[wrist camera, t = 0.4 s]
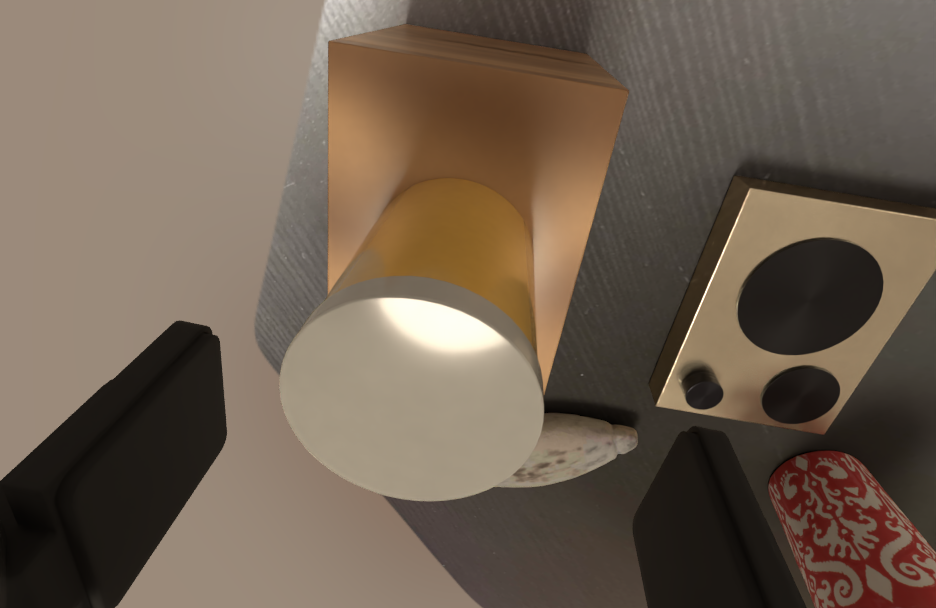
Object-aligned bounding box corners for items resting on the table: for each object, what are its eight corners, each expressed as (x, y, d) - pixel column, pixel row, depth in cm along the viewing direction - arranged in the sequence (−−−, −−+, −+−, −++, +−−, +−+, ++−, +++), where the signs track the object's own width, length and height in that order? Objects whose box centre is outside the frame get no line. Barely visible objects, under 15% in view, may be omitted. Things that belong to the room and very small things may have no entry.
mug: (734, 469, 42) (815, 646, 31) (853, 422, 39) (993, 603, 27) (796, 553, 47) (886, 736, 35) (907, 518, 43) (1047, 708, 32)
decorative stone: (638, 449, 42) (647, 483, 39) (456, 473, 46) (451, 506, 43) (628, 391, 39) (637, 423, 36) (434, 421, 43) (428, 453, 40)
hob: (733, 174, 31) (758, 194, 28) (936, 208, 31) (984, 232, 27) (648, 384, 39) (659, 418, 36) (807, 411, 39) (833, 448, 36)
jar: (373, 160, 19) (271, 272, 11) (552, 190, 19) (574, 323, 11) (366, 313, 22) (283, 479, 15) (518, 338, 22) (516, 519, 15)
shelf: (404, 23, 28) (328, 40, 17) (587, 53, 28) (629, 90, 17) (388, 255, 35) (327, 374, 24) (534, 279, 35) (539, 410, 24)
